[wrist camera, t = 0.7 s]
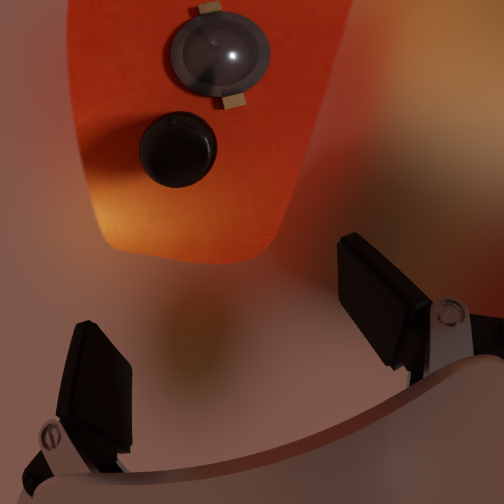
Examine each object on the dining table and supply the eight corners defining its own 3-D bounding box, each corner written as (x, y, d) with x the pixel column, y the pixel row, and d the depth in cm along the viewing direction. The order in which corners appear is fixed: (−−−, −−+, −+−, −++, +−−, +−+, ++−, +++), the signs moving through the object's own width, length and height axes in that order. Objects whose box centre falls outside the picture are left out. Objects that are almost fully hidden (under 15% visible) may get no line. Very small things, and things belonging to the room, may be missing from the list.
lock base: (160, 17, 20) (159, 13, 19) (253, 0, 21) (256, -4, 20) (186, 119, 27) (186, 119, 26) (278, 98, 28) (282, 97, 27)
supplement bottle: (148, 169, 29) (130, 201, 19) (150, 111, 26) (131, 110, 15) (206, 169, 31) (219, 201, 20) (211, 112, 27) (228, 112, 17)
